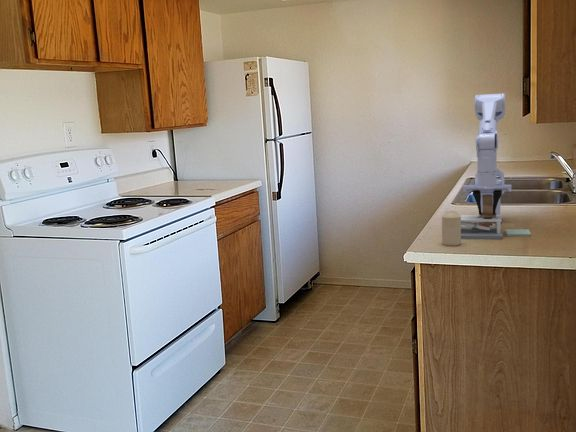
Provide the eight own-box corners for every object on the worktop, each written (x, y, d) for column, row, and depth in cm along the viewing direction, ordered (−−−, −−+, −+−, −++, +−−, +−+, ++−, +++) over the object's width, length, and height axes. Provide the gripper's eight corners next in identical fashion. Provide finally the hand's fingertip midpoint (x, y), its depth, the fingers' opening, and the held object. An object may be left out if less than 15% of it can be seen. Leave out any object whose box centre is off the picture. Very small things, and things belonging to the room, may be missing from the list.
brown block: (479, 223, 197) (479, 194, 196) (495, 223, 196) (495, 193, 194) (479, 226, 193) (479, 196, 191) (496, 226, 191) (496, 196, 190)
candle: (441, 245, 183) (440, 213, 182) (443, 241, 188) (443, 209, 187) (459, 246, 181) (459, 213, 180) (461, 242, 186) (461, 209, 185)
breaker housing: (450, 229, 205) (450, 213, 204) (500, 229, 200) (500, 213, 199) (448, 238, 192) (448, 221, 191) (502, 239, 187) (502, 221, 186)
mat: (505, 231, 198) (505, 229, 197) (528, 231, 195) (528, 229, 195) (506, 235, 191) (506, 233, 191) (530, 236, 189) (530, 234, 189)
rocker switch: (460, 222, 199) (461, 219, 199) (489, 227, 197) (489, 224, 196) (460, 225, 195) (461, 221, 194) (489, 230, 192) (490, 227, 192)
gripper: (462, 173, 190) (463, 216, 192) (512, 172, 185) (511, 216, 188) (463, 170, 196) (463, 212, 199) (510, 169, 192) (510, 212, 195)
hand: (486, 213), depth 194 cm, fingers closed on brown block, 3 cm apart
